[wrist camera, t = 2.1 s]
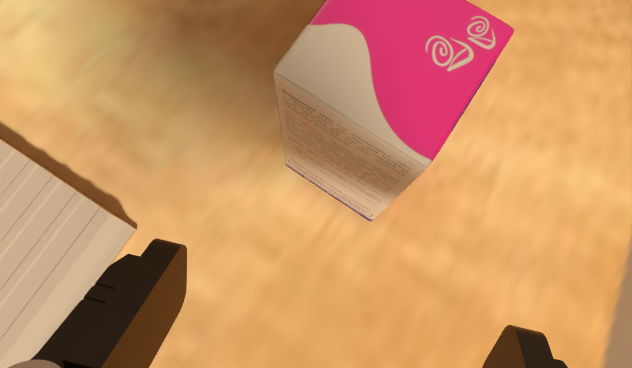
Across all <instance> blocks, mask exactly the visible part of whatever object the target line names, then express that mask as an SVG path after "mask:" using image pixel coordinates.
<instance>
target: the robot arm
mask: <svg viewBox="0 0 632 368" xmlns="http://www.w3.org/2000/svg"><path fill="white" fill-rule="evenodd" d="M186 284H187V248H186V246H185V245H182V244H177V243H173V242H169V241H165V240H161V239H154V240H153V241H152V242H151V243H150V244H149V246H148V247H147V248H146V250H145V251H144V252H143V254H142V255H141V256H135V255H131V254H128V255H126V256H124V257H123V258H121V259H119V260H118V261H116V262H115V263H113V264H111V265H110V266H108V268H107V269H106V270H105V271H104V273H103V274H102V275H101V276H100V277H99V279H98V280H97V281H96V282H95V285H94V286H92V287H91V288H90V290H89V291H88V292H87V293H86V294H85V296H84V299H83V300H81V301H80V302H79V303H78V304H77V305H76V307H75V308H74V309H73V310H72V312H71V313H70V314H69V315H68V316H67V318H66V319H65V320H64V321H63V322H62V324H61V325H60V326H59V327H58V329H57V330H56V331H55V332H54V333H53V335H52V336H51V337H50V338H49V339H48V341H47V342H46V343H45V344H44V346H43V347H42V348H41V349H40V350H39V352H38V353H37V354H36V355H35V356H34V357H33V358H32V359H30V360H28V361H24V362H20V363H17V364H15V365H12V366H10V367H8V368H149V366H150V365H151V363H152V361H153V359H154V357H155V356H156V354H157V352H158V350H159V348H160V346H161V345H162V343H163V341H164V339H165V337H166V336H167V334H168V332H169V330H170V328H171V327H172V325H173V323H174V321H175V319H176V318H177V316H178V314H179V312H180V310H181V307H182V305H183V302H184V299H185V294H186ZM482 368H568V367H567V366H566V365H565V363H564V362H563V361H561V360H557V359H553V356H552V353H551V350H550V347H549V344H548V341H547V339H546V337H545V335H544V334H543V333H541V332H537V331H533V330H529V329H525V328H520V327H516V326H512V325H508V326H507V327H506V328H505V329H504V330H503V332H502V334H501V335H500V337H499V339H498V340H497V342H496V344H495V345H494V347H493V349H492V350H491V352H490V354H489V355H488V357H487V359H486V360H485V362H484V364H483V367H482Z"/></svg>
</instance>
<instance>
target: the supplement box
mask: <svg viewBox="0 0 632 368" xmlns="http://www.w3.org/2000/svg"><path fill="white" fill-rule="evenodd" d="M513 32H514V29H513V28H512V27H510V26H509V25H507V24H506V23H504V22H503V21H501V20H499V19H498V18H496V17H494V16H493V15H491V14H489V13H487V12H486V11H484V10H482V9H480V8H479V7H477V6H475V5H473V4H471V3H469V2H468V1H466V0H325V1H324V2H323V3H322V5H321V6H320V8H319V9H318V10H317V12H316V13H315V14H314V16H313V17H312V18H311V20H310V21H309V22H308V24H307V25H306V26H305V28H304V29H303V30H302V31H301V33H300V34H299V36H298V37H297V38H296V40H295V41H294V42H293V44H292V45H291V47H290V48H289V50H288V51H287V52H286V53H285V54H284V56H283V57H282V58H281V60H280V61H279V63H278V64H277V65H276V67H275V68H274V70H273V77H274V83H275V90H276V97H277V103H278V110H279V117H280V124H281V130H282V138H283V145H284V152H285V159H286V166H288V167H290V168H291V169H292V170H293V171H295V172H296V173H298V174H299V175H301V176H303V177H304V178H306V179H307V180H309V181H310V182H312V183H313V184H315V185H316V186H318V187H319V188H321V189H322V190H324V191H325V192H327V193H328V194H330V195H331V196H333V197H334V198H336V199H337V200H339V201H340V202H342V203H343V204H345V205H346V206H348V207H349V208H351V209H352V210H354V211H355V212H357V213H358V214H360V215H361V216H363V217H364V218H366V219H367V220H369V221H372V220H373V219H374V218H376V217H377V216H378V215H379V214H380V213H381V212H382V211H383V210H384V209H385V208H386V207H387V206H388V205H389V204H390V203H391V202H392V201H393V200H394V199H396V198H397V197H398V196H399V195H400V194H401V193H402V192H403V191H404V190H405V189H406V188H407V187H408V186H409V185H410V184H411V183H412V182H413V181H414V180H415V179H416V178H417V177H418V176H419V175H420V174H421V173H422V172H423V171H424V170H425V169H426V168H427V167H428V166H429V165H430V164H431V163H432V161H433V160H434V158H435V157H436V155H437V154H438V152H439V151H440V149H441V148H442V146H443V144H444V143H445V141H446V140H447V138H448V137H449V135H450V133H451V132H452V130H453V129H454V127H455V125H456V124H457V122H458V120H459V119H460V117H461V116H462V114H463V113H464V111H465V109H466V108H467V106H468V105H469V103H470V102H471V100H472V98H473V97H474V95H475V94H476V92H477V90H478V89H479V87H480V86H481V84H482V82H483V81H484V79H485V78H486V76H487V74H488V73H489V71H490V70H491V68H492V66H493V65H494V63H495V62H496V60H497V58H498V57H499V55H500V54H501V52H502V50H503V49H504V47H505V46H506V44H507V42H508V41H509V39H510V38H511V36H512V34H513Z"/></svg>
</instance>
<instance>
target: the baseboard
mask: <svg viewBox="0 0 632 368" xmlns="http://www.w3.org/2000/svg"><path fill="white" fill-rule="evenodd" d="M136 230H137V229H136V228H134V227H133V226H131V225H130V224H128V223H127V222H125V221H124V220H122V219H121V218H119V217H118V216H116V215H115V214H113V213H112V212H110V211H109V210H107V209H106V208H105V207H103V206H102V205H100V204H99V203H97V202H96V201H94V200H93V199H91V198H90V197H88V196H87V195H85V194H84V193H82V192H81V191H79V190H78V189H76V188H75V187H73V186H72V185H70V184H69V183H67V182H66V181H64V180H63V179H61V178H60V177H58V176H57V175H55V174H54V173H53V172H51V171H50V170H48V169H47V168H45V167H44V166H42V165H41V164H39V163H38V162H36V161H35V160H33V159H32V158H30V157H29V156H27V155H26V154H24V153H23V152H21V151H20V150H18V149H17V148H15V147H14V146H12V145H11V144H9V143H8V142H6V141H5V140H3V139H2V138H1V137H0V368H8V367H10V366H12V365H15V364H17V363H20V362H24V361H28V360H30V359H32V358H33V357H34V356H35V355H36V354H37V353H38V352H39V350H40V349H41V348H42V347H43V346H44V344H45V343H46V342H47V341H48V339H49V338H50V337H51V336H52V335H53V333H54V332H55V331H56V330H57V329H58V327H59V326H60V325H61V324H62V322H63V321H64V320H65V319H66V318H67V316H68V315H69V314H70V313H71V312H72V310H73V309H74V308H75V307H76V305H77V304H78V303H79V302H80V301H81V300H83V299H84V296H85V294H86V293H87V292H88V291H89V290H90V288H91V287H92V286H94V285H95V282H96V281H97V280H98V279H99V277H100V276H101V275H102V274H103V273H104V271H105V270H106V269H107V268H108V266H110V265H111V264H112V263H113V262H114V260H115V259H116V258H117V256H118V255H119V253H120V252H121V251H122V249H123V248H124V247H125V245H126V244H127V242H128V241H129V240H130V238H131V237H132V236H133V234H134V233H135V231H136Z"/></svg>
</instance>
